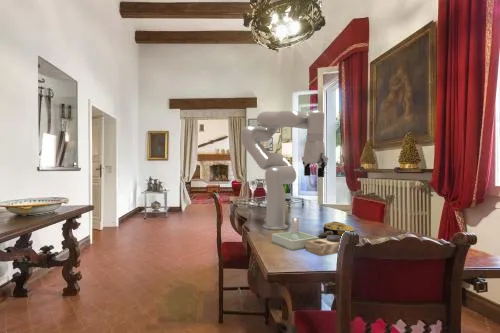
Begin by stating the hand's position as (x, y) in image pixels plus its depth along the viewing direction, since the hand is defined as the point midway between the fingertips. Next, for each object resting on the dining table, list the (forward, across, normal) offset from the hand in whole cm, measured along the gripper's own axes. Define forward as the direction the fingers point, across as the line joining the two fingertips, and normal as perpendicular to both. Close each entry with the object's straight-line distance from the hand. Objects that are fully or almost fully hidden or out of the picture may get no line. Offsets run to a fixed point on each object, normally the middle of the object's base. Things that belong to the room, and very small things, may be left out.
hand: (313, 176), depth 143 cm
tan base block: (+27, +22, -10) cm, 36 cm away
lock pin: (+27, +9, -16) cm, 32 cm away
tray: (+27, +9, -16) cm, 33 cm away
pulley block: (+28, +4, +9) cm, 29 cm away
